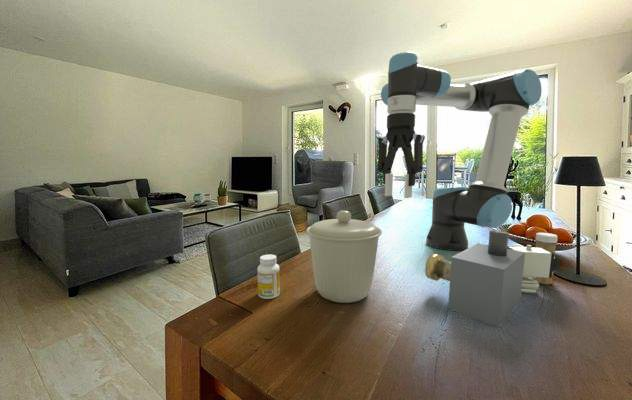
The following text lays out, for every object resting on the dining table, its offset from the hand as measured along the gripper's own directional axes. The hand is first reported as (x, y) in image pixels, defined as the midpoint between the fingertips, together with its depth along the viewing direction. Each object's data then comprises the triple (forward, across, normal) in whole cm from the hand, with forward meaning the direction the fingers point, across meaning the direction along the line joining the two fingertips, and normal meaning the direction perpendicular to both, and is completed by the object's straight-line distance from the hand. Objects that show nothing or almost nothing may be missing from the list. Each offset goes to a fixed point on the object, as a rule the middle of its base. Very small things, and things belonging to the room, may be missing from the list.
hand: (397, 196), depth 83 cm
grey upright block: (+11, +26, 0) cm, 28 cm away
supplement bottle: (+23, -13, -36) cm, 45 cm away
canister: (+23, -1, -22) cm, 32 cm away
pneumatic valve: (+23, +29, +14) cm, 40 cm away
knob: (+20, +17, -4) cm, 27 cm away
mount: (+23, +25, -2) cm, 34 cm away
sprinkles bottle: (+23, +31, +24) cm, 45 cm away
